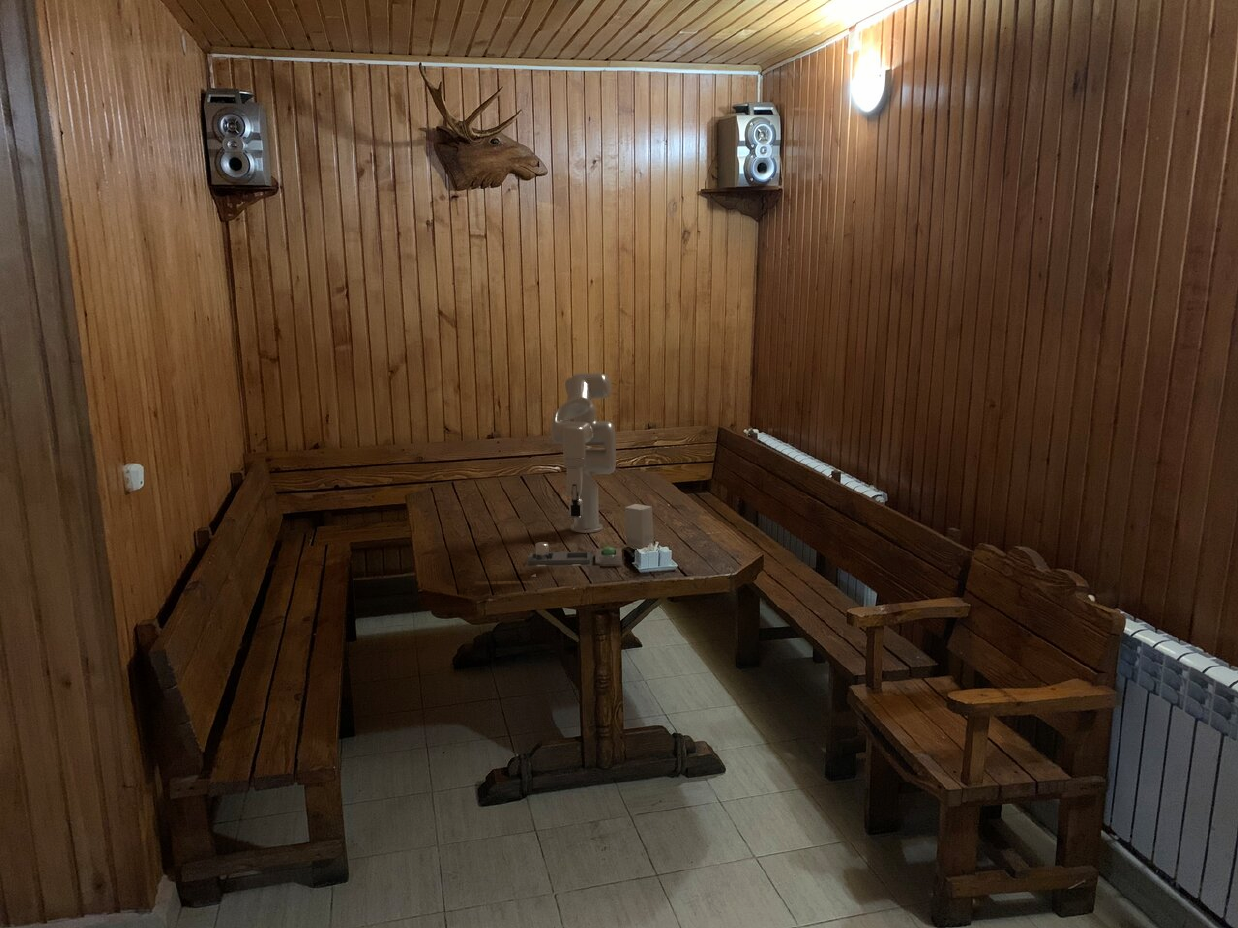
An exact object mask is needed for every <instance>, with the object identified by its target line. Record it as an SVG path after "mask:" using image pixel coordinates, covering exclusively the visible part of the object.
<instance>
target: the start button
mask: <svg viewBox="0 0 1238 928" xmlns="http://www.w3.org/2000/svg"><path fill="white" fill-rule="evenodd" d="M602 549H603V555H615V551H614V549H615V547H614V546H604V547H602Z"/></svg>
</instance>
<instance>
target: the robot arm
mask: <svg viewBox="0 0 1238 928" xmlns="http://www.w3.org/2000/svg"><path fill="white" fill-rule="evenodd" d="M564 388H565V392H566V395H567V400H566V401H565V402H564V403H563V404H562V405H560V406H559V407H558V408H557V410H555V412H554V414H553V416H552V421H551V429H550V436H551V439H552V441H553V443H556V444H562V446H563V447H562V453H563V454H562V457H563V458H562V459H563V468H566V497H570V498H571V516H580V505H579V498H582V509H583V516H582V517H579V518H573V519H574V520H573V521H574V522H573V524H571V525H570V530H571V531H572V532H574V533H580V534H581V533H583V534H589V533H591V534H592V533H596V532H600V531H602V530H603V529H604V528H603V524H602V523H600V522H599V521H600V519H599V518H600V517H599V516H600V515H599V513H600V512H599V485H598V482H597V480H596V479H595V477H593V475H611V474H613V473H614V472H615V471H616V467H617V465H616V464H617V450H616V449H617V448H616V446H617V445H616V444H617V443H616V430H615V426H614V424H613V423H612V422H611V421H608V420H599V421H598V420H597V418H596V407H595V405H594V403H593V402H592V400H591V399H593V400H594V399H595V400H596V399H600V400H601V399H602V400H603V399H608V398H610V396H611V392H612V382H611V380H610V377H609V376H608V375H607V374H604V373H577V374H574V375H573V376H571V377H568V378H567V379H566V380H565V382H564ZM571 420H573V421H571ZM598 446H599V447H603V449H602V448H601V449H597V448H596V449H592V448H589V449H587V448H586V447H598ZM577 498H578V499H577Z"/></svg>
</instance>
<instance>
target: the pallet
mask: <svg viewBox="0 0 1238 928" xmlns="http://www.w3.org/2000/svg"><path fill="white" fill-rule="evenodd" d="M593 562H594V553H591V551H552V552H550V551H549V559H543V560H536V552H530V554H528V555H527V558H526V562H525V565H524V567H525V568H534V567H536V568H537V567H538V568H540V567H542V568H543V567H546V568H548V567H550V568H551V567H592V566H594V565H593V564H594V563H593Z"/></svg>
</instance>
